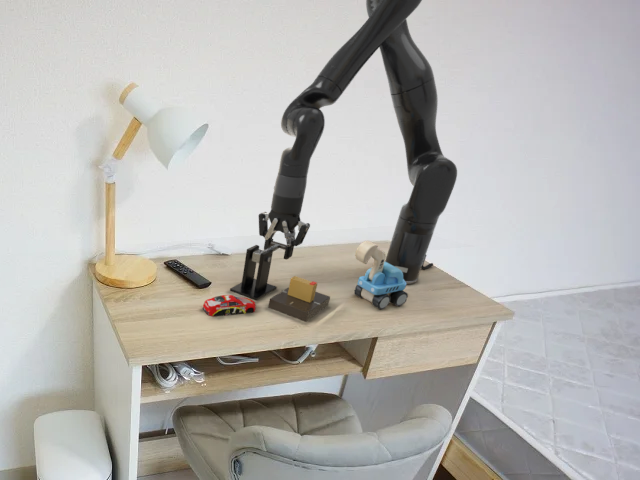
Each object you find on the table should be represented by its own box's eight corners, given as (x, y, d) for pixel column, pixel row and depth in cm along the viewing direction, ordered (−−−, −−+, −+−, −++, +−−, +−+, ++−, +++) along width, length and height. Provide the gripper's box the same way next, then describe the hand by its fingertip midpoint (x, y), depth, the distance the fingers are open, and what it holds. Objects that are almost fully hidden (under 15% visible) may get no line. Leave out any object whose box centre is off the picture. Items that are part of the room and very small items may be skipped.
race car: (249, 304, 129) (252, 290, 127) (258, 314, 124) (261, 300, 122) (200, 308, 126) (201, 294, 124) (207, 319, 122) (209, 304, 120)
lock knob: (287, 294, 127) (291, 277, 124) (291, 292, 128) (295, 275, 126) (309, 302, 123) (313, 285, 121) (313, 300, 125) (317, 282, 122)
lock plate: (291, 294, 134) (293, 283, 132) (328, 307, 128) (331, 296, 127) (267, 309, 127) (269, 297, 125) (305, 324, 121) (308, 312, 119)
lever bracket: (250, 281, 140) (256, 240, 134) (276, 290, 136) (284, 248, 130) (229, 292, 134) (235, 250, 128) (255, 302, 130) (263, 259, 123)
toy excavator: (331, 300, 132) (348, 236, 123) (382, 291, 137) (401, 229, 128) (355, 315, 125) (374, 249, 116) (407, 305, 130) (429, 241, 121)
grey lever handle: (271, 246, 138) (272, 237, 137) (288, 251, 135) (289, 242, 134) (246, 259, 131) (248, 250, 130) (263, 265, 128) (265, 256, 127)
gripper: (322, 195, 127) (308, 259, 135) (271, 183, 135) (261, 244, 144) (308, 201, 122) (294, 267, 131) (256, 189, 130) (246, 251, 139)
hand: (277, 255), depth 137 cm, fingers closed on grey lever handle, 5 cm apart
